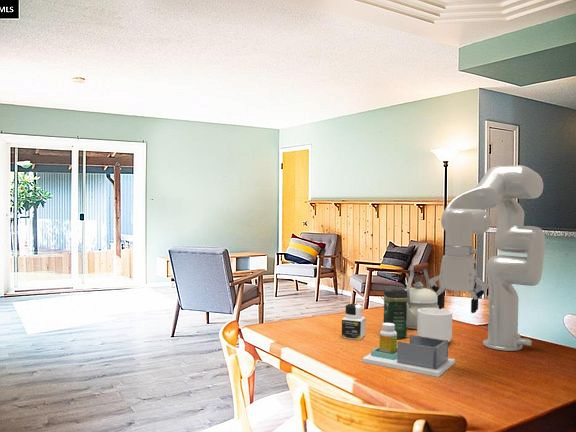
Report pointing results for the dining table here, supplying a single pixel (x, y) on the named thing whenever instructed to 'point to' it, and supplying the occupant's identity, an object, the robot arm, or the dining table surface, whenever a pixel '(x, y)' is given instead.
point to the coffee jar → (396, 309)
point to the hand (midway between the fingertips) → (457, 310)
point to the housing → (423, 352)
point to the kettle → (418, 296)
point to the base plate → (391, 362)
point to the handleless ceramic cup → (434, 323)
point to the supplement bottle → (388, 339)
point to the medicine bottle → (353, 322)
